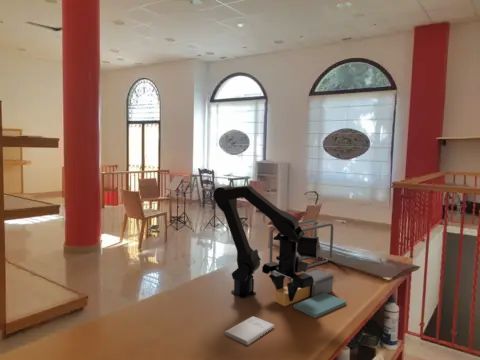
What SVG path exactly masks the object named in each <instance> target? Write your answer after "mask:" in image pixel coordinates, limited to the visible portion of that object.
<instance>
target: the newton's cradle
mask: <svg viewBox="0 0 480 360" xmlns="http://www.w3.org/2000/svg"><path fill="white" fill-rule="evenodd" d="M318 223H320V224H318ZM311 224H312V225H311ZM313 224H314V225H313ZM306 225H308V226H307V227H306ZM299 226H300V227H301V226H302V228H301V229H302V231H303V232H304V234H305V235H307V232H308V231H310V232H311V236H310V237H318V232H319V229H321V228H325V227H330V239H329V257H328V259H329V258H332V259H333V246H334V245H333V241H334V225H333V223H330V222H329V223H327V222H322V221H318V220H316V219H308V220H304V221H299ZM276 230H277V229H276V228H275V226H274V227H272V228H271V229H270V232H269V263H270V262H273V247H274V245H273V241H274V239H273V238H274V231H276ZM313 230H314V231H313ZM296 256H297V257H299V260H301V261H303V260H305V259H309V258H311V257H304V256H300V254H298V252H297V251H296ZM325 263H329V262H328V260H327V259H326V260H324V259H323V260H322V261H319V262H315V263H312V264H308V266H307V269H311V268H314V267H316V266H319V265H322V264H325ZM301 271H302V270H300V272H301Z"/></svg>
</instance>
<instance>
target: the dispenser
mask: <svg viewBox="0 0 480 360" xmlns="http://www.w3.org/2000/svg"><path fill="white" fill-rule="evenodd" d="M304 273H305V274H308V275H310V276H312V277H313V279H314V283H313V285H311V286H310V289H311V298H312V297H315V296H317V295H320V294H322V293H327V294H329V293H331V292H333V285H334V284H333V283H334V275H333V274H330V273H327V272H324V271H321V270H318V269H312V270H309V271H306V272H304Z"/></svg>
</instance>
